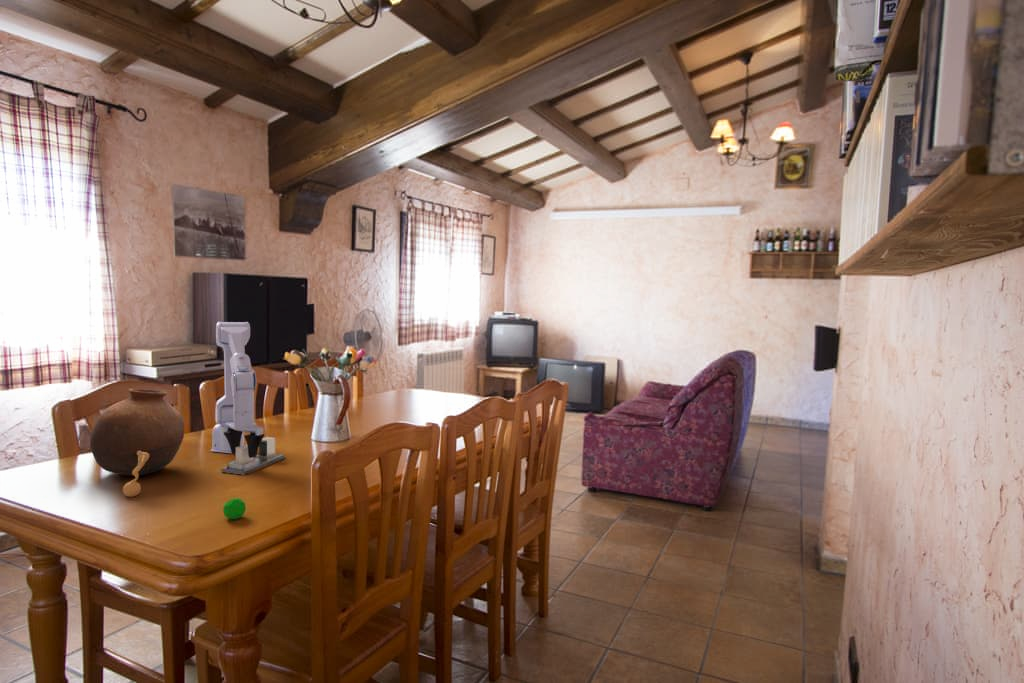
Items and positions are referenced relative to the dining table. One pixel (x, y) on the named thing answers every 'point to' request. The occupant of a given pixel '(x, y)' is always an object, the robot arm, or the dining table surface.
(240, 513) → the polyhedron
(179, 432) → the pottery
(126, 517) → the dining table surface
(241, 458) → the block
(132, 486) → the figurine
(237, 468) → the grey divided tray
